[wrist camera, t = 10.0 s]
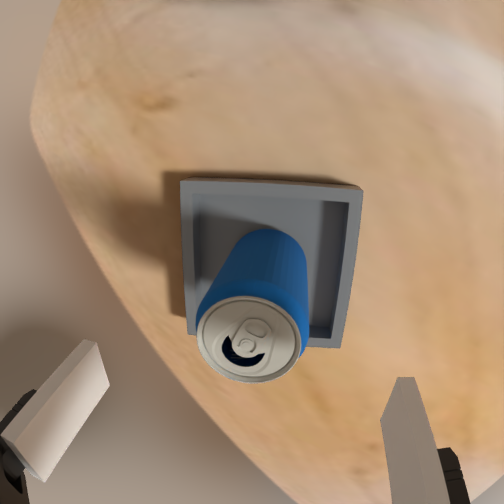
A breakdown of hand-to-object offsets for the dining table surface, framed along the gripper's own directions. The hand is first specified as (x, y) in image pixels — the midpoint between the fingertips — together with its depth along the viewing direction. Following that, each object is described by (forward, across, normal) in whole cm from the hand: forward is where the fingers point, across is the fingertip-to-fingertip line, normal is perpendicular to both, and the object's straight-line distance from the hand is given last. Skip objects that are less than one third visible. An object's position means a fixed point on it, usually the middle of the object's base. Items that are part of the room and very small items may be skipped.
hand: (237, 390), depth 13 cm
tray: (+17, 0, -1) cm, 17 cm away
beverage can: (+16, 0, -1) cm, 16 cm away
